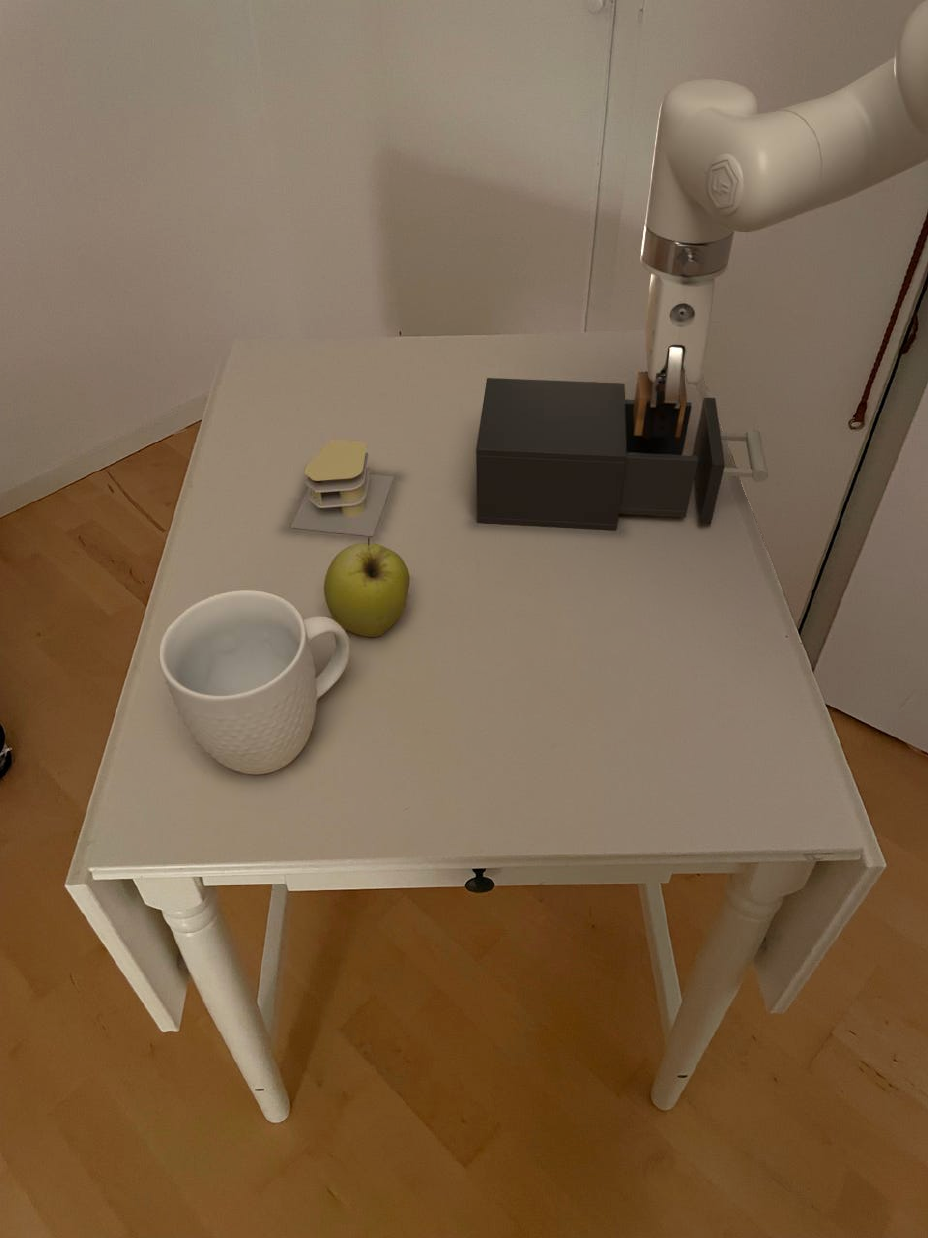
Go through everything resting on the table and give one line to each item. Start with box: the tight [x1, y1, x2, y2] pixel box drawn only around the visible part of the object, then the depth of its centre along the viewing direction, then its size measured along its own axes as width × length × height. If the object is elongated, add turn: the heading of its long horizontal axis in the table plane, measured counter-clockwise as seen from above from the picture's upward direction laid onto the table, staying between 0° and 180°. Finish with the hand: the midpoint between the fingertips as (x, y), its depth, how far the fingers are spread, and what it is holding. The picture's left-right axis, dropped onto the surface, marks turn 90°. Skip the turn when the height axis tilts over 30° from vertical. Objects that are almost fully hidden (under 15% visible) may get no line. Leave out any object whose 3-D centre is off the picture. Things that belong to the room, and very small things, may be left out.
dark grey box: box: [475, 377, 627, 531], centre depth 96 cm, size 15×13×10 cm
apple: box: [323, 537, 411, 638], centre depth 84 cm, size 8×8×10 cm
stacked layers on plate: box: [290, 439, 395, 537], centre depth 97 cm, size 10×9×6 cm
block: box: [633, 371, 688, 438], centre depth 91 cm, size 4×4×4 cm
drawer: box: [619, 396, 769, 526], centre depth 95 cm, size 18×11×8 cm, turn 84°
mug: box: [158, 589, 351, 775], centre depth 74 cm, size 15×11×13 cm
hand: (657, 420), depth 92 cm, fingers closed on block, 4 cm apart
